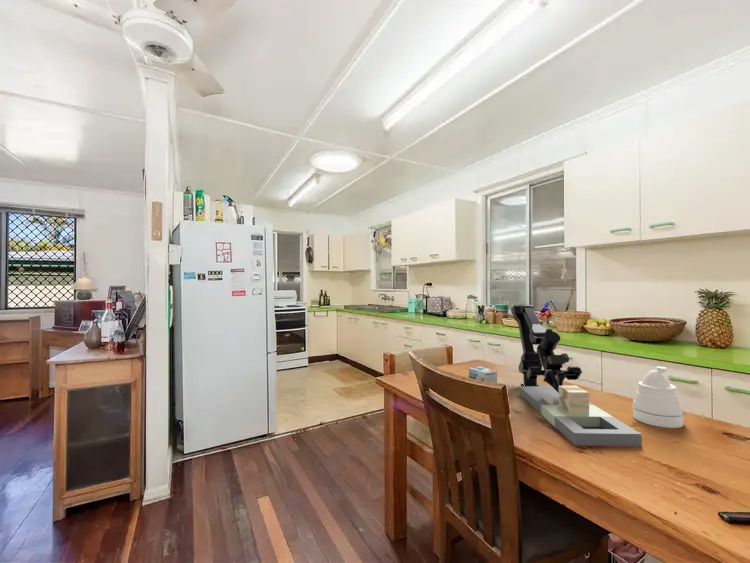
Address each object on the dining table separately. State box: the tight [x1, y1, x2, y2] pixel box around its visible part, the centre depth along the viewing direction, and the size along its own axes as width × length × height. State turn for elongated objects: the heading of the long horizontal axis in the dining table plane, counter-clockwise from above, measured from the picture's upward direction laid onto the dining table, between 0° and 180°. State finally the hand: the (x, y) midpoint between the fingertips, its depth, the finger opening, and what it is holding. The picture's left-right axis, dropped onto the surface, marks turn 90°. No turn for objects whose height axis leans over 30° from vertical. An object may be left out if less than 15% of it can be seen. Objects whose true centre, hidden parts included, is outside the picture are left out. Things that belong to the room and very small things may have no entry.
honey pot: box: [632, 366, 684, 429], centre depth 113 cm, size 13×13×18 cm
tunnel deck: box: [519, 385, 643, 448], centre depth 119 cm, size 47×18×6 cm, turn 175°
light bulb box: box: [468, 365, 498, 384], centre depth 145 cm, size 11×7×11 cm, turn 25°
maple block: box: [559, 385, 590, 414], centre depth 115 cm, size 8×6×7 cm
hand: (561, 393), depth 124 cm, fingers closed
